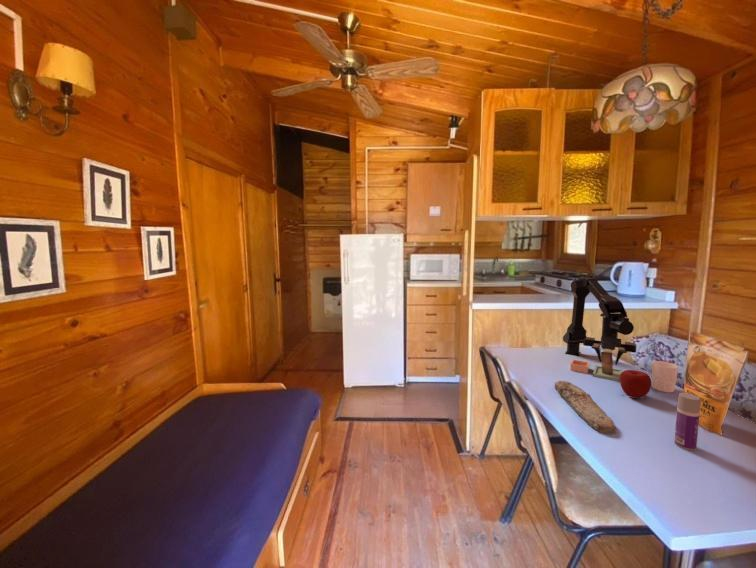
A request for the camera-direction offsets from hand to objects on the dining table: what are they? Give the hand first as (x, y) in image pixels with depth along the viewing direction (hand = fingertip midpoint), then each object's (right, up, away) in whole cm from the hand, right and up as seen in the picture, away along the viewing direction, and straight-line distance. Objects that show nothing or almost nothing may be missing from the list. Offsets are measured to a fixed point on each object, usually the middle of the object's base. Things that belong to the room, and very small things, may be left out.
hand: (608, 363), depth 147 cm
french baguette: (-28, -10, -26) cm, 39 cm away
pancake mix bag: (+5, -10, -38) cm, 40 cm away
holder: (-8, -5, +7) cm, 12 cm away
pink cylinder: (+12, -7, -14) cm, 20 cm away
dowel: (0, -4, 0) cm, 4 cm away
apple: (-3, -8, -19) cm, 21 cm away
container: (-12, -12, -50) cm, 53 cm away
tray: (0, -5, +1) cm, 6 cm away
